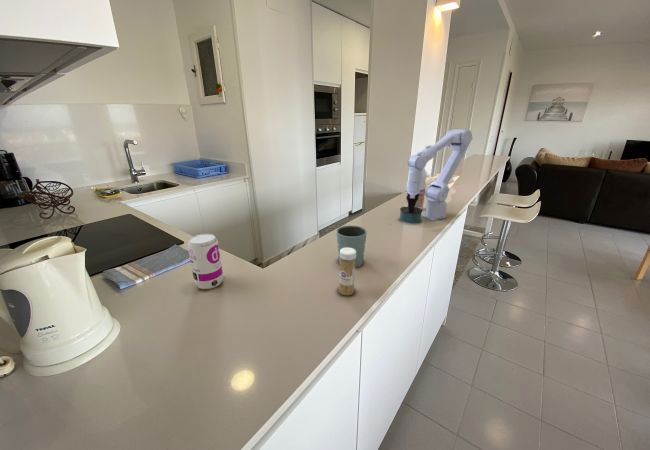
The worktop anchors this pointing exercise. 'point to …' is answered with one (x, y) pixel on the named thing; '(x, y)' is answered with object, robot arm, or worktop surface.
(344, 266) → the sprinkles bottle
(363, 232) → the grey green cup
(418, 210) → the lid
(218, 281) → the supplement can
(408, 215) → the pot
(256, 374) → the worktop surface
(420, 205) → the fruit juice
